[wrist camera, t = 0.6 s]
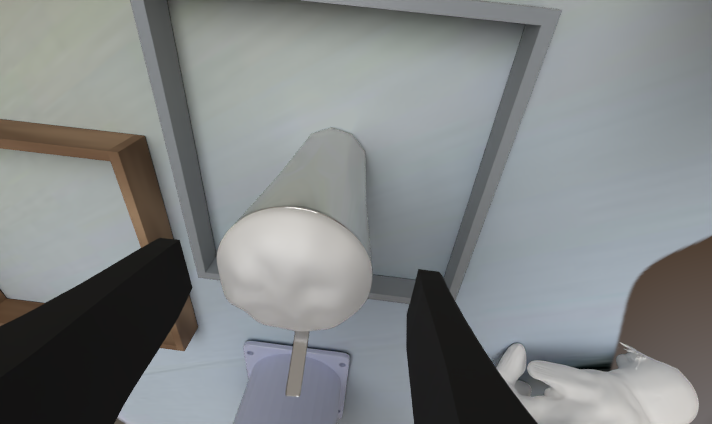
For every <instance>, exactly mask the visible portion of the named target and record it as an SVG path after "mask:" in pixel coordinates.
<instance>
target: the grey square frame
mask: <svg viewBox="0 0 712 424" xmlns="http://www.w3.org/2000/svg"><path fill="white" fill-rule="evenodd" d="M303 1H313V2H322V3H332V4H341V5H351V6H360V7H370V8H379V9H389V10H399V11H408V12H418V13H427V14H437V15H446V16H456V17H466V18H475V19H485V20H494V21H504V22H513V23H523V24H526V25H525V28H524V31H523V34H522V37H521V40H520V44H519V47H518V50H517V53H516V56H515V59H514V62H513V65H512V68H511V71H510V75H509V78H508V81H507V84H506V87H505V90H504V93H503V96H502V99H501V102H500V106H499V109H498V112H497V115H496V118H495V121H494V124H493V127H492V130H491V133H490V137H489V140H488V143H487V146H486V149H485V152H484V155H483V158H482V161H481V164H480V168H479V171H478V174H477V177H476V180H475V183H474V186H473V189H472V192H471V195H470V199H469V202H468V205H467V208H466V211H465V214H464V217H463V220H462V223H461V226H460V230H459V233H458V236H457V239H456V242H455V245H454V248H453V251H452V254H451V257H450V261H449V264H448V267H447V270H446V273H445V276H444V281H445V283H446V285H447V287H448V288H449V290H450V292H451V294H452V296H453V298H454V300H456V297H457V294H458V292H459V289H460V286H461V284H462V281H463V278H464V275H465V273H466V270H467V267H468V265H469V262H470V259H471V256H472V254H473V251H474V248H475V246H476V243H477V240H478V237H479V235H480V232H481V229H482V227H483V224H484V221H485V218H486V216H487V213H488V210H489V208H490V205H491V202H492V199H493V197H494V194H495V191H496V189H497V186H498V183H499V180H500V178H501V175H502V172H503V170H504V167H505V164H506V161H507V159H508V156H509V153H510V151H511V148H512V145H513V142H514V140H515V137H516V134H517V132H518V129H519V126H520V123H521V121H522V118H523V115H524V113H525V110H526V107H527V104H528V102H529V99H530V96H531V94H532V91H533V88H534V85H535V83H536V80H537V77H538V75H539V72H540V69H541V66H542V64H543V61H544V58H545V55H546V53H547V50H548V47H549V45H550V42H551V39H552V36H553V34H554V31H555V28H556V26H557V23H558V20H559V17H560V15H561V12H562V10H559V9H552V8H545V7H535V6H526V5H516V4H506V3H497V2H487V1H477V0H303ZM130 2H131V6H132V10H133V14H134V18H135V22H136V26H137V30H138V34H139V38H140V42H141V47H142V51H143V55H144V59H145V63H146V67H147V71H148V75H149V79H150V83H151V87H152V91H153V95H154V99H155V103H156V107H157V111H158V116H159V120H160V124H161V128H162V132H163V136H164V140H165V144H166V148H167V152H168V156H169V160H170V164H171V168H172V172H173V176H174V180H175V184H176V189H177V193H178V197H179V201H180V205H181V209H182V213H183V217H184V221H185V225H186V229H187V233H188V237H189V241H190V245H191V249H192V253H193V257H194V262H195V266H196V270H197V274H198V278H206V279H214V280H220V276H219V271H218V266H217V256H216V251H215V246H214V241H213V236H212V230H211V225H210V220H209V215H208V210H207V205H206V200H205V195H204V189H203V184H202V179H201V174H200V169H199V164H198V159H197V154H196V148H195V143H194V138H193V133H192V128H191V123H190V118H189V113H188V107H187V102H186V97H185V92H184V87H183V82H182V77H181V72H180V66H179V61H178V56H177V51H176V46H175V41H174V36H173V30H172V25H171V20H170V15H169V10H168V5H167V0H130ZM415 281H416V280H411V279H403V278H395V277H387V276H379V275H372V284H371V289H370V293H369V296H368V298H367V299H374V300H382V301H390V302H398V303H406V304H410V300H411V297H412V293H413V289H414V285H415Z"/></svg>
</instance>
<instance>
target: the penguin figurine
mask: <svg viewBox="0 0 712 424" xmlns="http://www.w3.org/2000/svg"><path fill="white" fill-rule="evenodd" d="M620 343H621V342H620ZM621 344H622V345H624V346H625V347H627V348H628V349H630V350H627V351H628V353H626V354H620V355H618V356H617V357H616V363H617V366H618V369H615V370H611V371H609V372H603V371H599V370H593V369H581V370H580V369H577V368H573V367H570V366H566V365H562V364H557V363H552V362H547V361H540V360H535V361H531V362H530V363H529V364H528V366H527V370H528V373H529V374H530V376H531V377H533V378H535V379H537V380H541V381H542V382H544V383H546V384H547V385H549V386H551V387H549V388H546V389H545V391H544V396H534V397H530V396H531V393H532V389H531V387H530V385H529V384H527V383H526V382H523V381H520V380H518V378H519V377H520V376H521V375H522V374H523V373H524V371H525V369H526V351H525V348H524V347H523V345H522V344H520V343H515V344H512V345H511V346H510V347H509V348H508V349H507V351H506V352H505V353H504V355H503V356H502V358H501V360H500V362H499V364H498V365H497V367H496V369H497V370H498V372H499V373H500V374H501V376H502V377H503V379H504V380H505V382H506V383H507V384H508V386H509V387H510V388H511V390H512V391H513V392H514V394H515V395H516V396H517V398H518V399H519V400H520V402H521V403H522V404H523V406H524V407H525V408H526V409H527V411H528V412H529V413H530V414H531V416H532V417H533V418H534V419H535V421H536V422H537V423H538V424H689V423H690V422H691V421H692V420H693V419H694V418H695V417H696V414H697V412H698V408H699V402H698V397H697V394H696V392H695V390H694V388H693V386H692V384H691V383H690V382H689V380H688V379H687V378H686V377H685V376H684V375H683V374H682V373H681V372H680V371H679V370H678V369H677V368H675V367H672V366H670V365H668V364H666V363H663V362H661V361H657V360H655V359H653V358H651V357H649V356H647V355H645V354H643V353H641V352H639V351H637V350H636V349H634V348H633V347H632V348H633V349H632V348H630V347H629V346H627V345H625V344H623V343H621ZM624 350H626V349H624Z"/></svg>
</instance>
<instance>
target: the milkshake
mask: <svg viewBox="0 0 712 424" xmlns="http://www.w3.org/2000/svg"><path fill="white" fill-rule="evenodd" d="M217 266H218V271H219V276H220V280H221V285H222V289H223V292H224V294H225V297H226V299H227V300H228V301H229V302H230V303H231V304H232V305H234V306H236V307H238V308H240V309H242V310H243V311H245V312H246V313H248V314H249V315H250V316H251V317H252V318H253V319H255V320H256V321H257V322H259V323H261V324H264V325H267V326H273V327H279V328H284V329H288V330H293V331H295V335H294V342H293V348H292V354H291V360H290V366H289V373H288V379H287V385H286V392H285V395H286V396H289V397H300V394H301V388H302V381H303V374H304V367H305V360H306V353H307V345H308V338H309V331H313V330H325V329H330V328H333V327H335V326H337V325H339V324H341V323H342V322H344V321H346V320H347V319H348V318H350V317H351V316H352V315H353V314H355V313H356V312H357V311H358V310H359V309H360V308H361V307H362V306H363V304H364V303H365V302H366V300H367V298H368V296H369V293H370V289H371V284H372V261H371V248H370V236H369V224H368V215H367V205H366V163H365V150H364V149H363V148H362V146H361V145H360V144H359V142H358V141H357V140H356V139H355V137H354V136H353V135H352V134H350V133H347V132H344V131H341V130H338V129H335V128H332V127H331V128H328V129H325V130H322V131H318V132H315V133H312V134H311V135H310V136H309V137H308V138H307V140H306V141H305V142H304V143H303V145H302V146H301V147H300V148H299V150H298V151H297V152H296V153H295V155H294V156H293V157H292V159H291V160H290V161H289V162H288V164H287V165H286V166H285V167H284V169H283V170H282V171H281V172H280V174H279V175H278V176H277V177H276V178H275V179H274V181H273V182H272V183H271V184H270V185H269V186H268V187H267V188H266V189H265V190H264V192H263V193H262V194H261V195H260V196H259V197H258V198H257V199H256V200H255V202H254V203H253V204H252V205H251V206H250V207H249V208H248V209H247V211H246V212H245V213H244V214H243V215H242V216H241V217H240V218H239V220H238V221H237V222H236V223H235V224H234V225H233V226H232V227H231V228H230V229H229V230H228V231H227V233H226V234H225V235H224V237H223V239H222V240H221V242H220V245H219V248H218V251H217Z"/></svg>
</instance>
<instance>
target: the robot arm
mask: <svg viewBox="0 0 712 424" xmlns="http://www.w3.org/2000/svg"><path fill="white" fill-rule="evenodd" d="M191 290H192V285H191V281H190V277H189V273H188V270H187V266H186V262H185V259H184V255H183V251H182V247H181V244H180V240H175V239H167V238H158V239H156V240H154V241H153V242H151V243H149V244H147V245H146V246H144V247H142V248H140V249H139V250H137V251H135V252H134V253H132V254H130V255H129V256H127V257H125V258H124V259H122V260H120V261H118V262H117V263H115V264H113V265H112V266H110V267H108V268H107V269H105V270H103V271H102V272H100V273H98V274H96V275H95V276H93V277H91V278H90V279H88V280H86V281H85V282H83V283H81V284H79V285H78V286H76V287H74V288H72V289H70V290H68V291H67V292H65V293H63V294H61V295H59V296H57V297H56V298H54V299H52V300H50V301H48V302H46V303H45V304H43V305H41V306H39V307H37V308H35V309H34V310H32V311H30V312H28V313H26V314H24V315H22V316H20V317H18V318H16V319H14V320H12V321H10V322H8V323H6V324H4V325H1V326H0V424H114V422H115V421H116V419H117V417H118V415H119V413H120V411H121V409H122V407H123V405H124V404H125V402H126V400H127V399H128V397H129V395H130V393H131V392H132V390H133V388H134V387H135V385H136V384H137V382H138V381H139V379H140V378H141V376H142V374H143V373H144V371H145V370H146V368H147V367H148V365H149V364H150V362H151V360H152V359H153V357H154V356H155V354H156V353H157V351H158V350H159V348H160V346H161V345H162V343H163V342H164V340H165V339H166V337H167V335H168V334H169V332H170V331H171V329H172V327H173V326H174V324H175V323H176V321H177V319H178V318H179V315H180V313H181V311H182V309H183V307H184V305H185V303H186V301H187V299H188V296H189V294H190V292H191ZM292 348H293V346H288V345H280V344H272V343H264V342H257V341H246V342H245V343H244V346H243V350H244V356H245V362H246V367H247V373H248V379H249V381H248V383H247V386H246V389H245V392H244V395H243V397H242V400H241V403H240V406H239V408H238V411H237V414H236V417H235V420H234V422H233V424H337V419H341V418H342V416H343V408H344V401H345V393H346V385H347V377H348V370H349V362H350V356H349V355H348V354H346V353H342V352H334V351H326V350H319V349H311V348H307V353H306V360H305V367H304V374H303V381H302V388H301V394H300V397H289V396H286V395H285V392H286V385H287V379H288V373H289V366H290V360H291V354H292ZM407 358H408V368H409V378H410V387H411V397H412V407H413V416H414V424H538V423H537V422H536V421H535V419H534V418H533V417H532V416H531V414H530V413H529V412H528V411H527V409H526V408H525V407H524V406H523V404H522V403H521V402H520V400H519V399H518V398H517V396H516V395H515V394H514V392H513V391H512V390H511V388H510V387H509V386H508V384H507V383H506V382H505V380H504V379H503V377H502V376H501V374H500V373H499V372H498V370H497V369H496V367H495V366H494V364H493V363H492V361H491V360H490V358H489V357H488V355H487V354H486V352H485V351H484V349H483V348H482V346H481V344H480V343H479V341H478V340H477V338H476V336H475V335H474V333H473V331H472V330H471V328H470V326H469V325H468V323H467V321H466V320H465V318H464V316H463V314H462V313H461V311H460V309H459V307H458V305H457V304H456V302H455V300H454V298H453V296H452V294H451V292H450V290H449V288H448V287H447V285H446V283H445V281H444V278H443V276H442V275H441V273H440V272H436V271H428V270H420V269H419V270H418V273H417V277H416V281H415V285H414V289H413V293H412V297H411V300H410V304H409V308H408V312H407Z"/></svg>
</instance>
